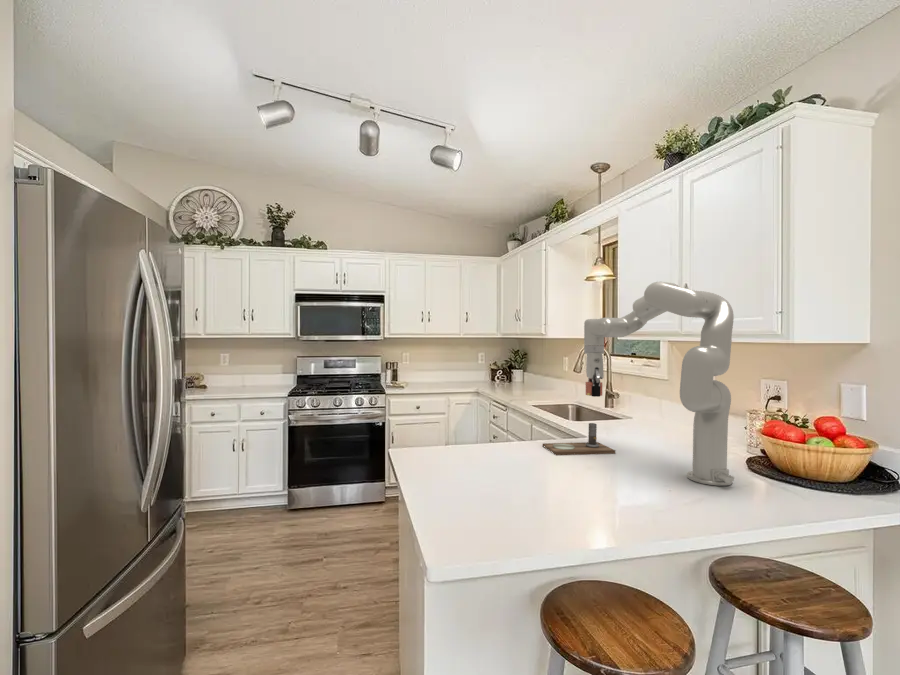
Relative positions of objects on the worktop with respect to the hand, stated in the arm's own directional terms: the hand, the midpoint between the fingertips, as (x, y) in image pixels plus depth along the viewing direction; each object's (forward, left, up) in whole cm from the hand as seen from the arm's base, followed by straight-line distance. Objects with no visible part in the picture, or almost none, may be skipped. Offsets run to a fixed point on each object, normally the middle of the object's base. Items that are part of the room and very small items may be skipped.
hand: (593, 395), depth 184 cm
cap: (0, 0, 0) cm, 0 cm away
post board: (0, +6, -22) cm, 23 cm away
